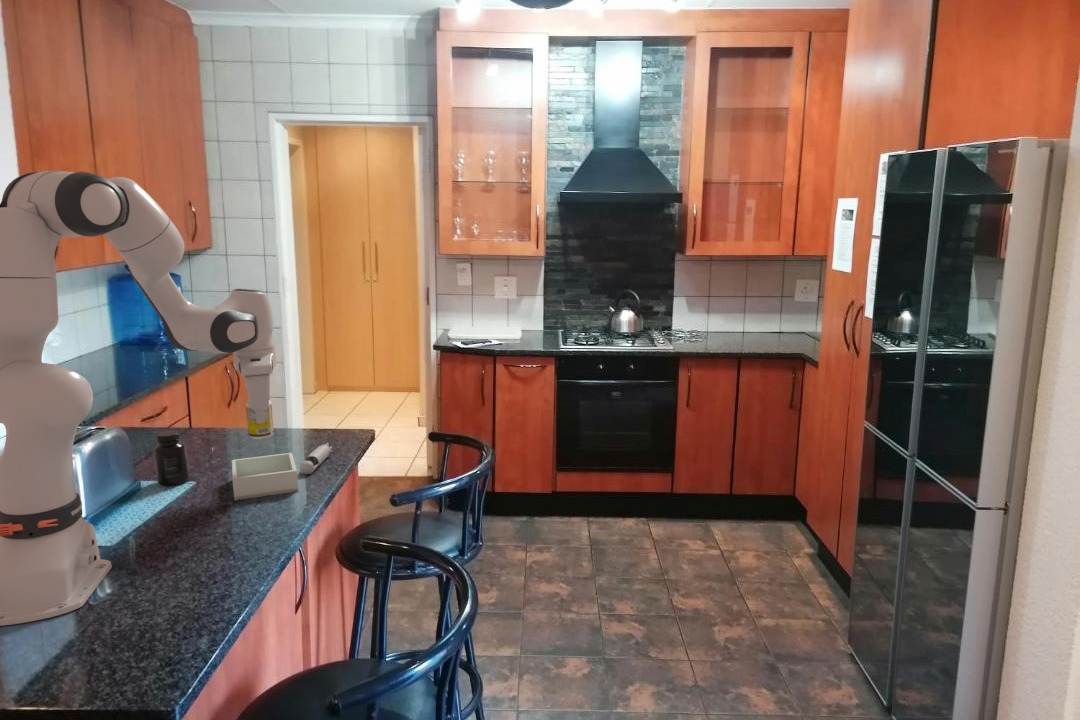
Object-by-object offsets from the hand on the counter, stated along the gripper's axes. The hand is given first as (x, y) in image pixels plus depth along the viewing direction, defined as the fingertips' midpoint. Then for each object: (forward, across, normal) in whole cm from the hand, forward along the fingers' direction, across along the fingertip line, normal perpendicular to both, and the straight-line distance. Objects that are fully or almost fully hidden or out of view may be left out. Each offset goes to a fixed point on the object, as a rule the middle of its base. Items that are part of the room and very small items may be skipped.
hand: (260, 418), depth 169 cm
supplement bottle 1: (+16, -11, -20) cm, 28 cm away
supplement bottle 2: (+4, 0, 0) cm, 4 cm away
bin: (+16, 0, 0) cm, 16 cm away
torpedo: (+17, -11, +13) cm, 24 cm away
